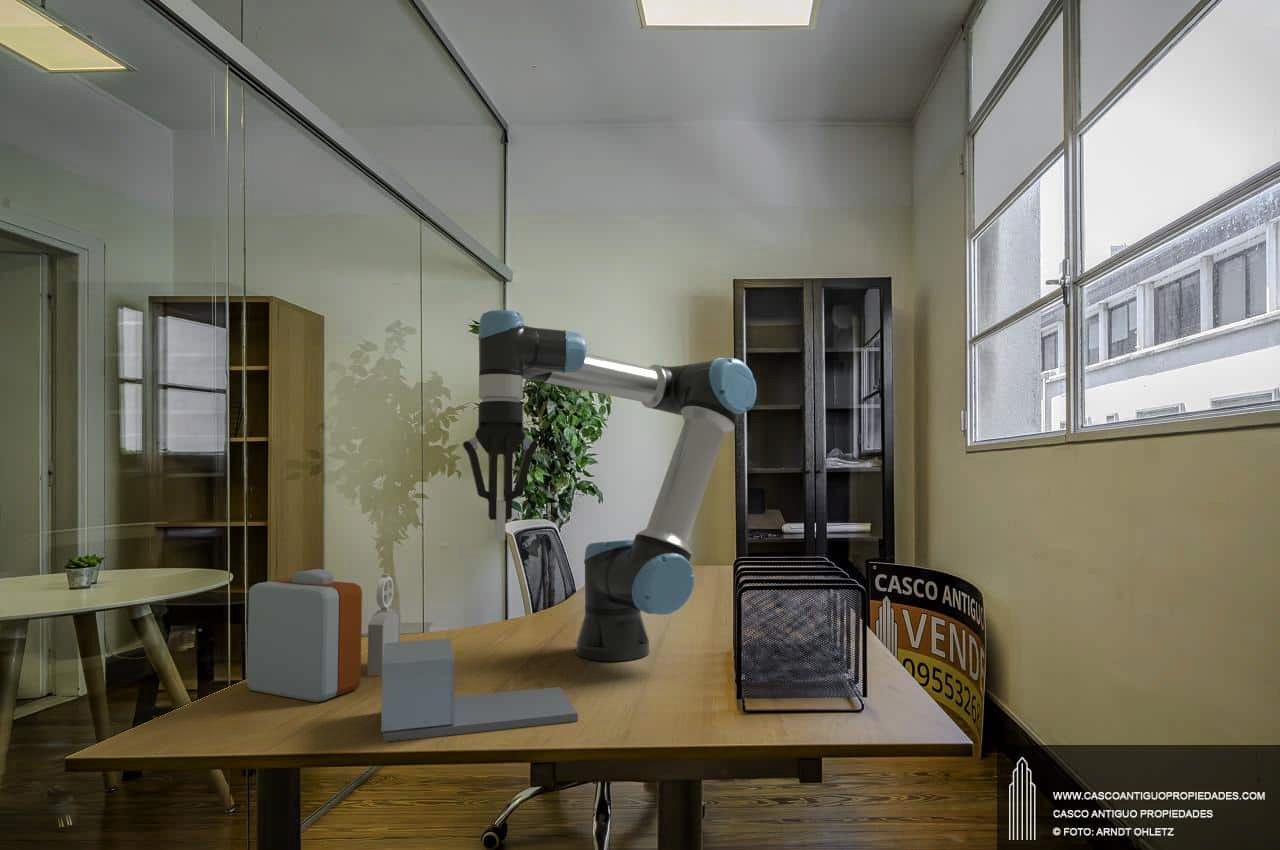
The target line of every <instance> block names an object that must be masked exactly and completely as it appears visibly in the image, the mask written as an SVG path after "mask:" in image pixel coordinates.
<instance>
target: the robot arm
mask: <svg viewBox="0 0 1280 850" xmlns="http://www.w3.org/2000/svg"><path fill="white" fill-rule="evenodd" d="M478 326H479V327H478V361H479V362H478V366H479V367H478V368H479V369H478V370H479V371H478V375H479V376H478V399H479V400H482V401H481V402H479V404H478V421H477V422H478V427H477V429H476V431H475V435H474V437H472V438H470V439H469V440H465V441H464V442H463V443H462V448H463V449H464V450H465V452H466V454H467V455H468V459H469V463H470V467H471V472H472V475H473V479H474V484H475V487H476V492H477V495H478V496H479V497H480V498H483V499H486V500H487V502H488V518H489V520H490V521H492V520H493V521H494V539H495V541H504V540H505V541H506V522H507V521H506V520H511V519H512V517H513V501H514V499H517V498H519V497H522V496H523V494H524V490H525V487H526V483H527V479H528V474H529V470H530V467H531V463H532V458H533V455H534V453H535V451H536V450H537V449H538V447H539V442H537V441H534V440H532V439H530V438H529V437H528V436H527V434H526V433H527V432H526V431H525V429H524V412H523V411H524V405H523V404H522V402H520V401H521V400H522V399H524V380H528V381H534V382H540V383H545V384H546V383H547V384H550V385H555V386H561V387H566V388H570V389H576V390H582V391H585V392H586V391H587V392H591V393H596V394H600V395H606V396H610V397H615V398H621V399H626V400H632V401H635V402H636V401H637V402H641V404H642V405H643V406H644V407H645V408H648V409H652V410H653V409H654V410H658V411H662V412H664V413H665V412H666V413H669V414H673V415H678V416H682V418H683V421H684V423H683V426H682V429H681V431H680V434H679V436H678V439H677V443H676V445H675V447H674V450H673V453H672V456H671V460H670V462H669V464H668V467H667V471H666V472H665V475H664V479H663V481H662V485H661V486H660V490H659V493H658V496H657V497H656V501H655V504H654V506H653V510H652V512H651V515H650V518H649V520H648V523H647V526H646V528H645V529H643V530H641V531H639V532H637V533H636V534H635V537H634V539H625V540H623V539H622V540H614V541H613V540H612V541H600V542H592V543H589V544H588V545H587V546H586V547H585V553H584V559H583V564H584V604H585V605H584V608H585V609H584V617H583V621H582V623H581V627H580V629H579V633H578V637H577V639H576V655H577V656H579V657H580V658H583V659H587V660H590V661H591V660H592V661H598V662H600V661H601V662H623V661H631V660H637V659H640V658H643V657H647V656H648V655H649V654H650V639H649V636H648V633H647V630H646V627H645V625H644V624H645V623H644V621H643V617H642V613H641V612H643V613H646V614H648V615H657V616H658V615H659V616H660V615H661V616H662V615H663V616H666V615H671V614H672V613H674V612H676V611H678V610H680V609H681V608H682V607H683V606H685V604H686V603H687V601H688V600H689V599H690V598H691V596H692V594H693V590H694V586H695V574H694V573H693V572H694V569H693V568H694V567H693V566H692V564H691V563H690V561H691V558H692V555H693V553H692V550H691V548H690V546H689V543H688V542H689V540H690V538H691V534H692V531H693V528H694V525H695V522H696V519H697V516H698V513H699V510H700V508H701V505H702V502H703V498H704V495H705V492H706V489H707V487H708V483H709V481H710V478H711V475H712V472H713V469H714V466H715V463H716V460H717V458H718V454H719V451H720V447H721V446H722V442H723V439H724V436H725V435H726V434H728V433H731V432H733V431H734V430H735V427H736V424H737V421H738V418H739V415H743V414H745V413H747V412H748V411H750V410H751V408H753V406H754V405H755V402H756V399H757V391H758V390H757V383H756V380H755V378H754V375H753V374H754V373H753V372H752V371H751V369H750V368H749V367H748V365H747V364H746V363H744V362H743V361H742V360H740V359H738V358H735V357H734V358H733V357H726V358H724V357H718V358H716V359H715V358H714V359H713V360H709V361H702V362H695V363H690V364H685V365H684V364H683V365H676V366H664V365H660V364H659V365H658V364H652V365H650V366H648V367H647V366H644V365H638V364H636V363H635V364H633V363H629V362H625V361H621V360H617V359H611V358H607V357H603V356H599V355H594V354H590V353H587V344H586V340H585V338H584V337H583V336H582V335H581V334H580V333H578V332H574V331H569V330H566V329H563V330H561V329H551V328H543V327H542V328H540V327H532V326H528V325H525V320H524V316H523V314H522V313H520V312H517V311H514V310H506V309H505V310H503V309H498V310H495V309H494V310H488V311H486V312H484V313H482V315H481V316H480V320H479V325H478ZM478 443H479V444H480V446H481V447H482V449H483V450H484V451H485V453H487V454H488V457H487V458H488V476H487V477H488V478H487V479H488V485H487V486H488V487H487V488H488V489H487V490H488V491H487V490H486V487H485V482H484V478H483V475H482V474H483V473H482V470H481V466H480V462H479V461H480V460H479V457H478V454H477V450H478V448H479V446H478ZM522 443H523V446H522V449H523V451H524V452H523V455H522V457H521V463H520V466H519V471H518V475H517V478H516V481H515V486H514V490H513V458H514V454H515V452H516V451H517V450H518V448H519V447H520V446H521V445H522ZM499 455H502V458H503V459H502V461H503V499H502V500H498V499H497V498H498V459H499Z"/></svg>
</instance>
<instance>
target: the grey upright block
mask: <svg viewBox="0 0 1280 850" xmlns="http://www.w3.org/2000/svg"><path fill="white" fill-rule="evenodd" d="M453 650H454V649H453V646H452V643H451V638H450V637H448V638H435V639H422V640H421V639H420V640H409V641H405V640H404V641H400V642H391V643H385V647H384V655H383V663H382V676H381V724H380V725H381V727H380V728H381V729H380V730H381V731H380V732H383V733H384V731H393V730H402V729H412V728H421V727H430V726H440V725H449V724H454V697H455V675H456V674H455V673H456V671H455V668H456V667H455V665H456V664H455V662H456V660H455V654H454V651H453Z"/></svg>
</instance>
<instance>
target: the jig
mask: <svg viewBox="0 0 1280 850" xmlns="http://www.w3.org/2000/svg"><path fill="white" fill-rule="evenodd" d="M578 718H579V715H578V711H577V710H576V709H575V707H574V705H573V704H572V702H571V701H570V700H569V698H568V697H567V695H566V694H565V692H564V690H562V688H561V687H560V686H556V687H554V686H553V687H546V688H545V687H544V688H534V689H525V690H515V691H503V692H492V693H482V694H481V693H480V694H472V695H459V696H454V724H449V725H440V726H430V727H421V728H412V729H402V730H393V731H383V741H382V742H384V743H389V742H388V741H393V742H398V741H397V740H402V741H408V740H407V739H411V740H417V738H420V739H428V738H438V737H446V736H454V735H465V734H475V733H483V732H484V733H485V732H491V731H492V732H493V731H502V730H508V729H509V730H510V729H519V728H528V727H529V728H530V727H538V726H547V725H556V724H564V723H572V722H573V723H575V722H578V721H579V719H578Z"/></svg>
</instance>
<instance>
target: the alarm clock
mask: <svg viewBox="0 0 1280 850" xmlns="http://www.w3.org/2000/svg"><path fill="white" fill-rule="evenodd" d="M362 609H363V591H362V587H361V586H360V585H358V584H357V583H355V582H345V581H343V582H342V581H334V574H332V573H331V572H329V571H327V570H326V569H321V568H317V569H309V570H303V571H299V572H293V573H292V574H291V577H287V578H283V579H277V580H270V581H264V582H258V583H256V584H254V585H252V586H250V588H249V591H248V617H247V618H248V620H247V622H248V624H247V656H246V657H247V661H246V663H247V665H246V667H247V668H246V669H247V670H246V684H247V688H249V690H251V691H254V692H258V693H259V692H260V693H263V694H270V695H275V696H282V697H287V698H292V699H295V700H296V699H297V700H304V701H307V702H313V703H322V702H324V701H327V700H330V699H333V698H335V697H338V696H340V695H341V696H342V695H344V694H346V693H350V692H351V691H354V690H357V689H358V688H359V687H360V684H361V682H362V680H361V679H362V678H361V677H362V676H361V675H362V673H361V672H362V625H363V624H362V621H363V620H362V615H363V613H362V612H363V611H362Z"/></svg>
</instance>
